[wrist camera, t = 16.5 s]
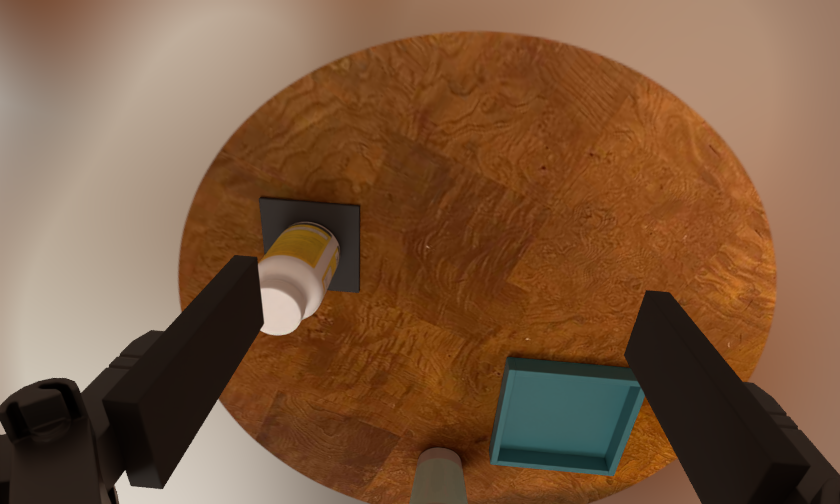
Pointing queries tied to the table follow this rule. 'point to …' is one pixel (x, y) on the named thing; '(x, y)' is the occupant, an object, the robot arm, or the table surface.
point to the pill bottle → (296, 275)
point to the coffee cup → (439, 478)
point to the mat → (329, 215)
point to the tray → (564, 416)
